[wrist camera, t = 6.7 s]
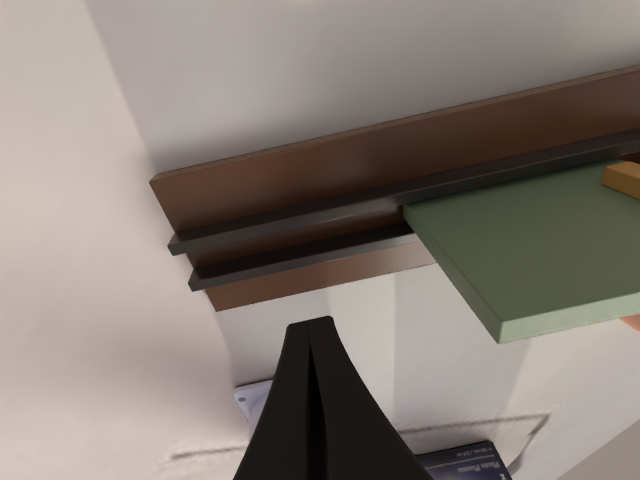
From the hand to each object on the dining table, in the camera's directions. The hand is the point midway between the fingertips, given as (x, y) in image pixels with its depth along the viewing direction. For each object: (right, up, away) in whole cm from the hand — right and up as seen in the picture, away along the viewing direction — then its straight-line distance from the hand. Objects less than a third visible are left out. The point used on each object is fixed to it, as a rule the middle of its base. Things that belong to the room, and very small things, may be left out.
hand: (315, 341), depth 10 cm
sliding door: (+9, +6, +5) cm, 12 cm away
